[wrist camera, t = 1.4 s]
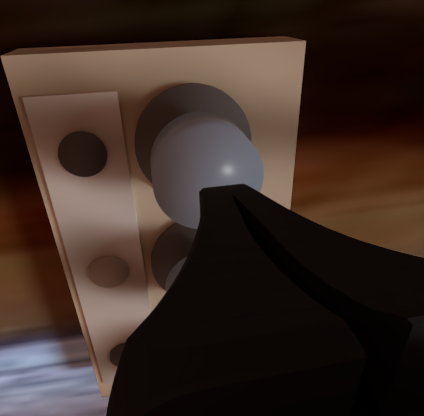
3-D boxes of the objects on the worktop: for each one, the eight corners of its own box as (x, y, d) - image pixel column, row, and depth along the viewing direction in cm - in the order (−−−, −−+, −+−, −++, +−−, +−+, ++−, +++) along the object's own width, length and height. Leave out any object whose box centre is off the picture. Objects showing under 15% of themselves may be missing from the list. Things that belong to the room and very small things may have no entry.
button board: (264, 337, 28) (277, 371, 25) (104, 364, 26) (101, 404, 23) (284, 36, 17) (311, 42, 15) (18, 48, 15) (-5, 57, 13)
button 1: (247, 198, 16) (261, 222, 14) (155, 209, 15) (158, 235, 13) (250, 107, 14) (266, 121, 12) (144, 115, 13) (146, 131, 11)
